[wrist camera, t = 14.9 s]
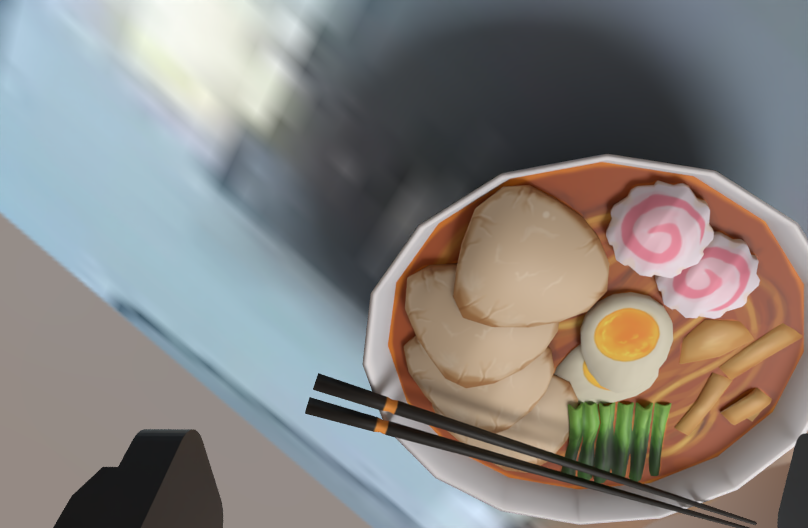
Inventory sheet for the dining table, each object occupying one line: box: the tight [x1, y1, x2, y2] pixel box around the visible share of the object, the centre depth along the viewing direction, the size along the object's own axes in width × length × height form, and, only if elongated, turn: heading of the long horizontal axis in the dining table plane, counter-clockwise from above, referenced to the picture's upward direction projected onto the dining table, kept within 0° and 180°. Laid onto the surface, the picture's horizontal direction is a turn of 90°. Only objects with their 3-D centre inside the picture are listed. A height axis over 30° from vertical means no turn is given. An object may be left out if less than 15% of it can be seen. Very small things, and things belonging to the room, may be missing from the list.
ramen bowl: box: [305, 154, 808, 528], centre depth 40 cm, size 25×23×8 cm
